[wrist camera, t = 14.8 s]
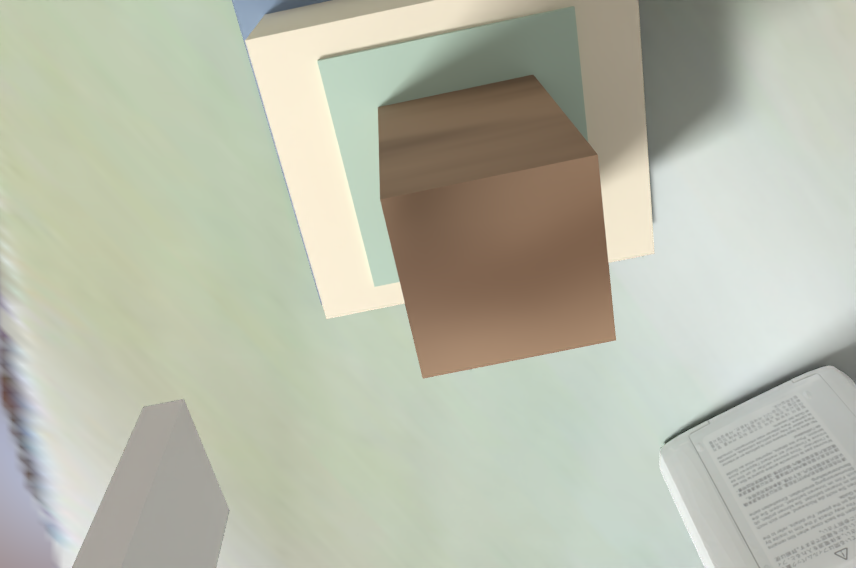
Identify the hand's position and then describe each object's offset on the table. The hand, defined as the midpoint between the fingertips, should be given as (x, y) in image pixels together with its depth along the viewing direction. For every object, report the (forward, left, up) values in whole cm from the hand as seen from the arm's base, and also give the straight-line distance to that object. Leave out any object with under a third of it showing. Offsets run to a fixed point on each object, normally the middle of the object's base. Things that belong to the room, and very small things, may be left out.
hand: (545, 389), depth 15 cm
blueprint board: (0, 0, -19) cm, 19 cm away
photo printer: (-19, -12, -19) cm, 29 cm away
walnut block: (0, 0, -13) cm, 13 cm away
